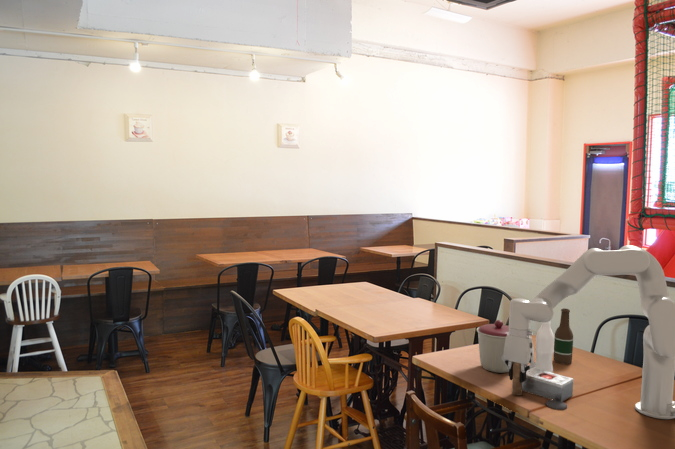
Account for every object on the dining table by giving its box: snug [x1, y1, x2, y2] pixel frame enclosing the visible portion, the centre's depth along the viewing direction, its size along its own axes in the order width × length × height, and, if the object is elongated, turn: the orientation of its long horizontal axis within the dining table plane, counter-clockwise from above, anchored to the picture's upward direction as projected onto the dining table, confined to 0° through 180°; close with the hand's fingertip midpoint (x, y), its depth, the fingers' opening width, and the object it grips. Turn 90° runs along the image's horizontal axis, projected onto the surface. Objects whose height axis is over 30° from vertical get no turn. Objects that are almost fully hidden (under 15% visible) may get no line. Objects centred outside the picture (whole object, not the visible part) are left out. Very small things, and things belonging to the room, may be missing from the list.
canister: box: [476, 319, 509, 374], centre depth 230 cm, size 18×18×21 cm
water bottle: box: [534, 320, 555, 373], centre depth 220 cm, size 7×7×25 cm
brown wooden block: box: [511, 362, 523, 396], centre depth 203 cm, size 3×3×14 cm
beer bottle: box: [553, 307, 574, 366], centre depth 241 cm, size 8×8×24 cm
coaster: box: [545, 399, 568, 411], centre depth 193 cm, size 7×7×1 cm
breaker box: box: [522, 368, 574, 402], centre depth 205 cm, size 16×10×6 cm, turn 45°
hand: (517, 379), depth 203 cm, fingers closed on brown wooden block, 3 cm apart
